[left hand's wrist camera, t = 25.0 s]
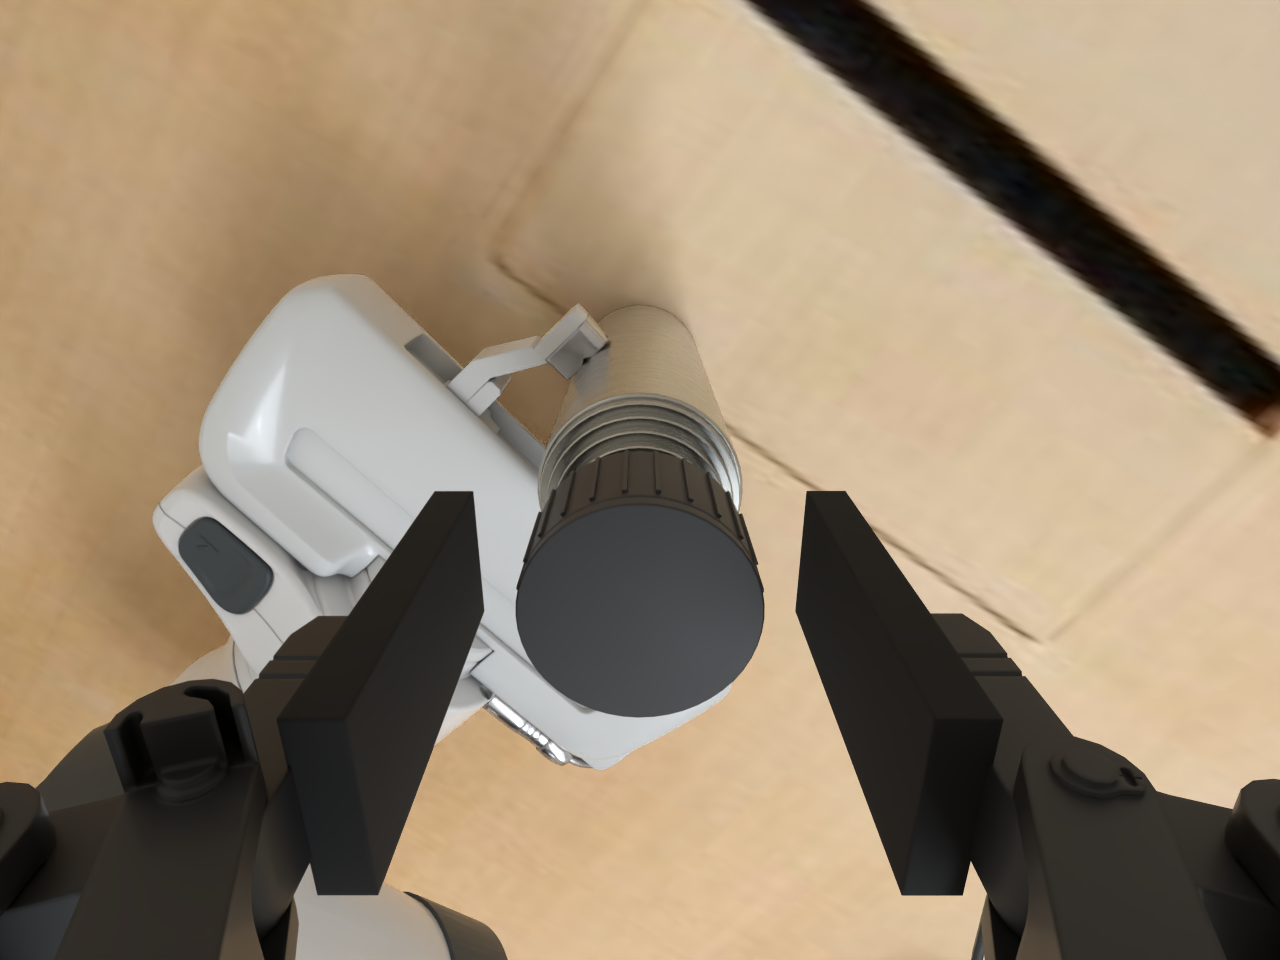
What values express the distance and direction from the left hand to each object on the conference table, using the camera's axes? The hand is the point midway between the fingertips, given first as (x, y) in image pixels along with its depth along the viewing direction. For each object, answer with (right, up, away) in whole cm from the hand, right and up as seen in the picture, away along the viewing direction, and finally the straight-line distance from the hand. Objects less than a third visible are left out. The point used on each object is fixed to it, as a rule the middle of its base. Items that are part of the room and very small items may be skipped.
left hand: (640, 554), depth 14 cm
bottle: (0, +6, +16) cm, 17 cm away
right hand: (+1, +4, +10) cm, 11 cm away
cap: (0, 0, 0) cm, 0 cm away
